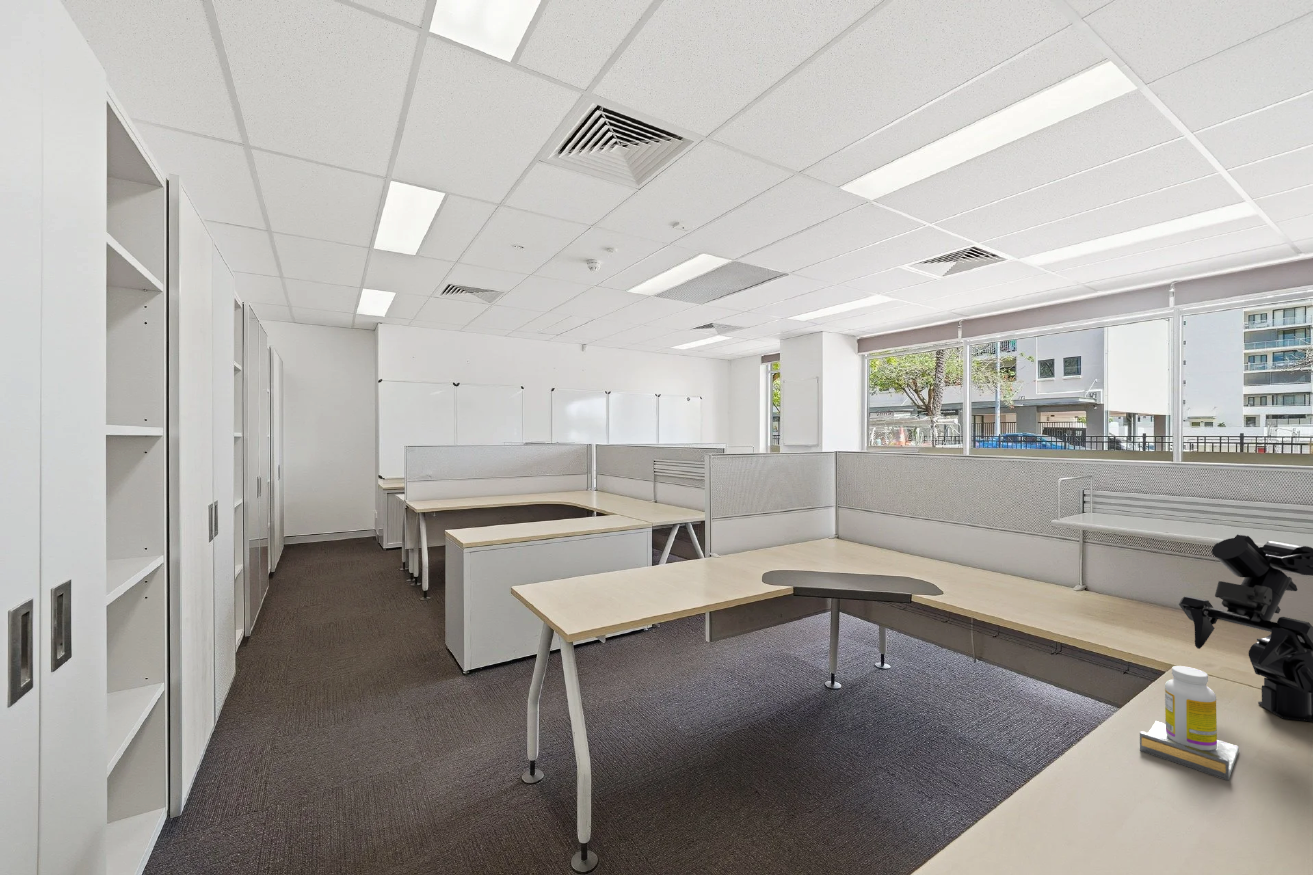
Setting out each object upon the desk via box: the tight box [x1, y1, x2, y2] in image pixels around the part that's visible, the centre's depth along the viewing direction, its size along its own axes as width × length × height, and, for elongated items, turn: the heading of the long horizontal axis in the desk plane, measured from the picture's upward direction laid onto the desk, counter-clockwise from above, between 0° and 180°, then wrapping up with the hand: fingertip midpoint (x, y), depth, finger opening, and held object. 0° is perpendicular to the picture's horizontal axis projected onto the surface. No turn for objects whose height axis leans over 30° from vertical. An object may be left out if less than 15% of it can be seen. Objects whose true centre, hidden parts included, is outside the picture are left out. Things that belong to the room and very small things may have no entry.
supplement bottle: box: [1164, 665, 1218, 751], centre depth 98 cm, size 7×7×13 cm
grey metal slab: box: [1139, 720, 1240, 781], centre depth 97 cm, size 13×11×3 cm
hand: (1227, 655), depth 105 cm, fingers open, 9 cm apart
